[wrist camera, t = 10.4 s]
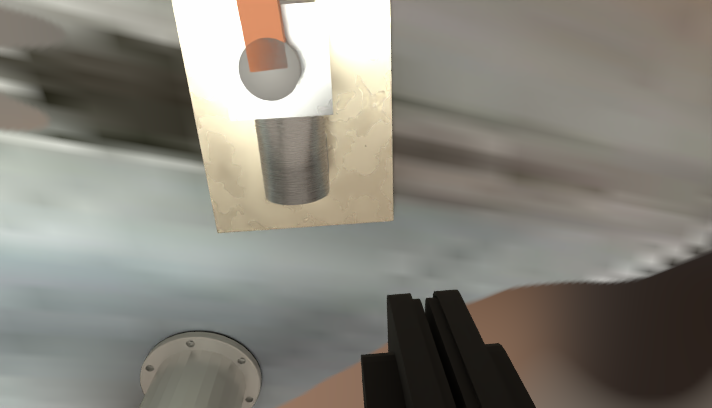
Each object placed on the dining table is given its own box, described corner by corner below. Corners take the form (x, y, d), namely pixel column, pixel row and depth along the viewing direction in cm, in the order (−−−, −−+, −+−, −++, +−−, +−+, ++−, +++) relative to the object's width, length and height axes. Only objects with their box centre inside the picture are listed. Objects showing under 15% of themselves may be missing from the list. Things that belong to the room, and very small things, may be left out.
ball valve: (391, 214, 41) (413, 283, 30) (221, 225, 41) (183, 300, 30) (384, -190, 29) (416, -311, 18) (143, -181, 29) (32, -301, 18)
